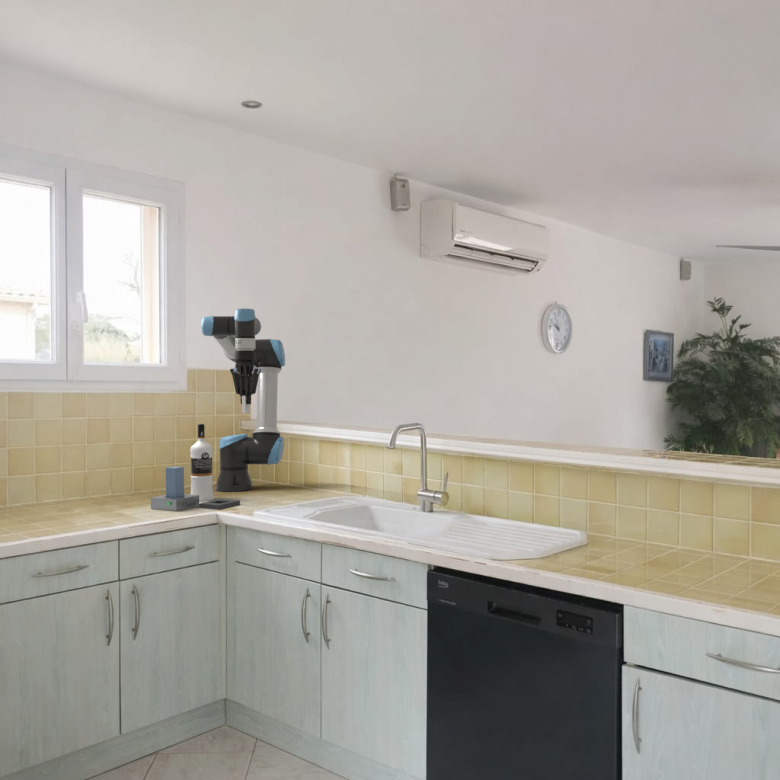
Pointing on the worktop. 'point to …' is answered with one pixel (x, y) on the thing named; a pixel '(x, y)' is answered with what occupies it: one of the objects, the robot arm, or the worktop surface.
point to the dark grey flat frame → (219, 504)
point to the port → (174, 502)
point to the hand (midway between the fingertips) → (245, 413)
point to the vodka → (201, 467)
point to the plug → (174, 482)
